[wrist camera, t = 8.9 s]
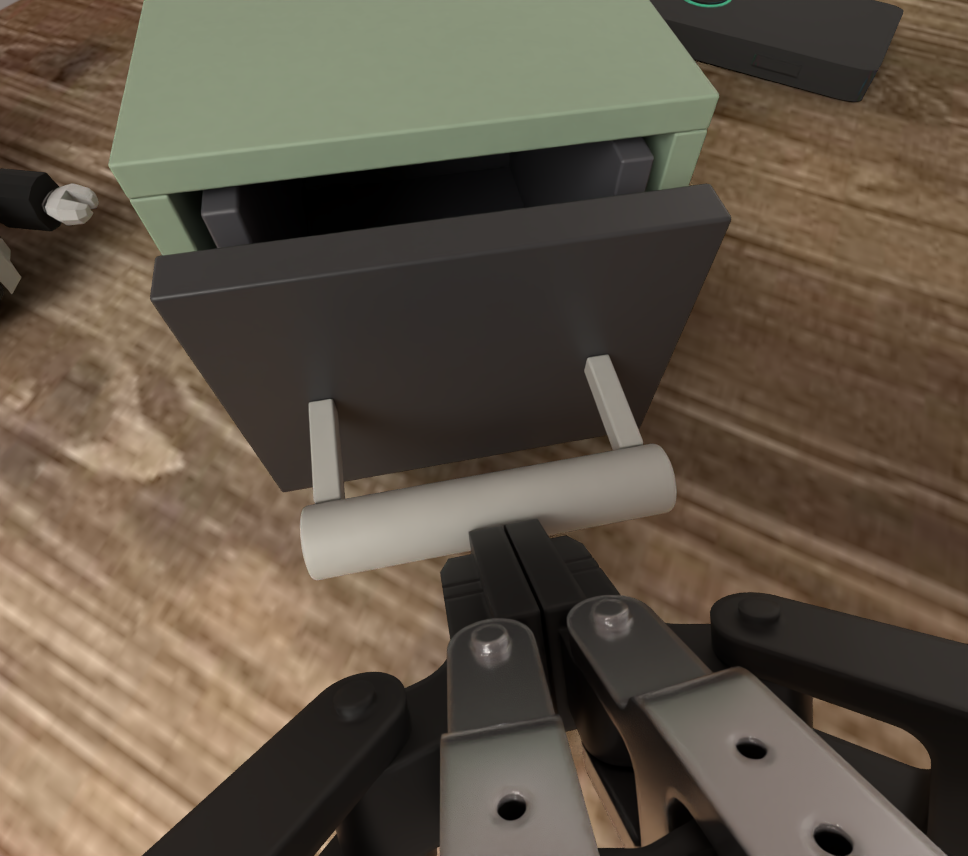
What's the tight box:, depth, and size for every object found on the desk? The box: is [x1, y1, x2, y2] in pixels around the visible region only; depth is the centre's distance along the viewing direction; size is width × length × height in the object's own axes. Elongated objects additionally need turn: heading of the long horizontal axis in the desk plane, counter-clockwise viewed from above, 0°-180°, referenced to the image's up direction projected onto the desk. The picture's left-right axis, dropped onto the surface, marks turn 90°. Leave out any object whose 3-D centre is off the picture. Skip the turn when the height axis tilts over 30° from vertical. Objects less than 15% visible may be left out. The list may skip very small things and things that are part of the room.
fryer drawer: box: [150, 137, 731, 580], centre depth 17 cm, size 18×11×8 cm, turn 11°
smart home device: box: [650, 0, 903, 101], centre depth 34 cm, size 8×2×20 cm
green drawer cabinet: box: [109, 0, 719, 255], centre depth 20 cm, size 15×13×10 cm
